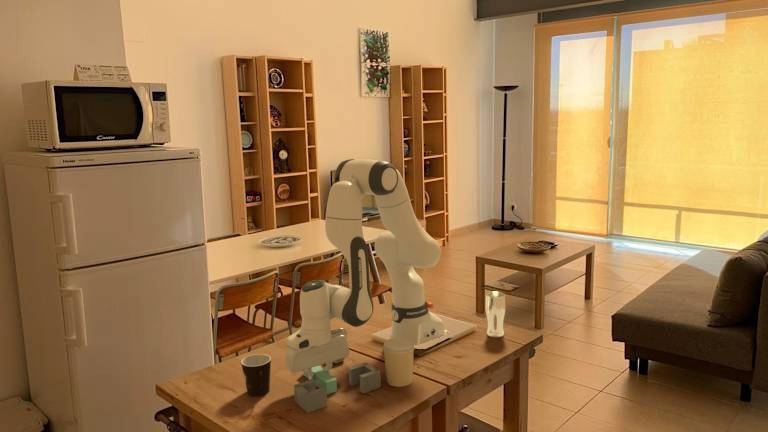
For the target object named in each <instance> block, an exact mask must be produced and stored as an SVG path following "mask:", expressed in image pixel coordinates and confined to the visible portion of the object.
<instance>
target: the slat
mask: <svg viewBox="0 0 768 432" xmlns="http://www.w3.org/2000/svg"><path fill="white" fill-rule="evenodd" d="M324 369H325V368H324ZM324 369H323V368H322V366H321V365H319V366H316V367H312V371H310V372H311V373H314V374H315V378H316V379H315V381H316V388H318V389H320V388H323V387H324V388H325V389H327V395H330V394H333V393H336V392H338V381H337V378H336V377H334V376H333V375H332V374H329V373H328V372H326V371H325V370H324ZM302 375H303V376H304V377H305V378H307V379H308V380H309V376H308V373H307V372H306V371H305V370H303V371H302Z"/></svg>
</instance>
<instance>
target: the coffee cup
mask: <svg viewBox="0 0 768 432" xmlns="http://www.w3.org/2000/svg"><path fill="white" fill-rule="evenodd" d="M382 348H383V357H384V365H385V376H386V382H387V383H388V385H390V386H393V387H406V386H408V385H411V384H412V382H413V375H414V353H415V352H414V350H415V349H414V344H413V342H412V341H411V340H409V339H406V338H393V339H390V338H389V339H387V340H386V341H384V343H383V345H382Z"/></svg>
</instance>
